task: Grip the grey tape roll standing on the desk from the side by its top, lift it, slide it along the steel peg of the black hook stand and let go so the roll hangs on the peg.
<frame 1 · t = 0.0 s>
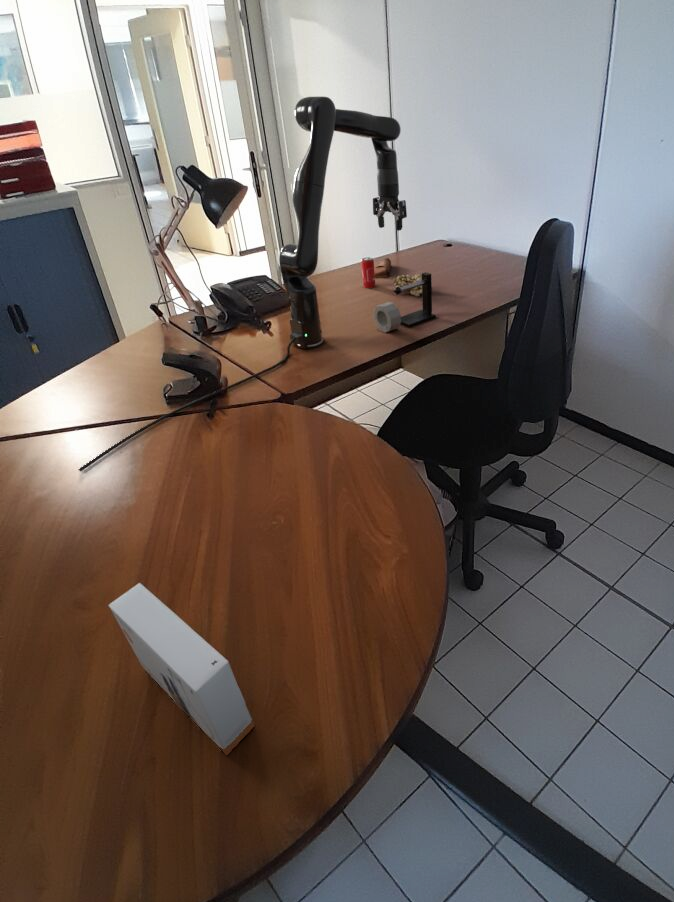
hand: (390, 228, 201), 29 cm above the table, tool pointing down, fingers open, 8 cm apart
sunglasses case: (381, 272, 255), on the table
beverage can: (369, 286, 237), on the table
mineral formation: (410, 292, 228), on the table
tape roll: (388, 329, 194), on the table
skincare box: (195, 700, 79), on the table
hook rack: (415, 319, 201), on the table
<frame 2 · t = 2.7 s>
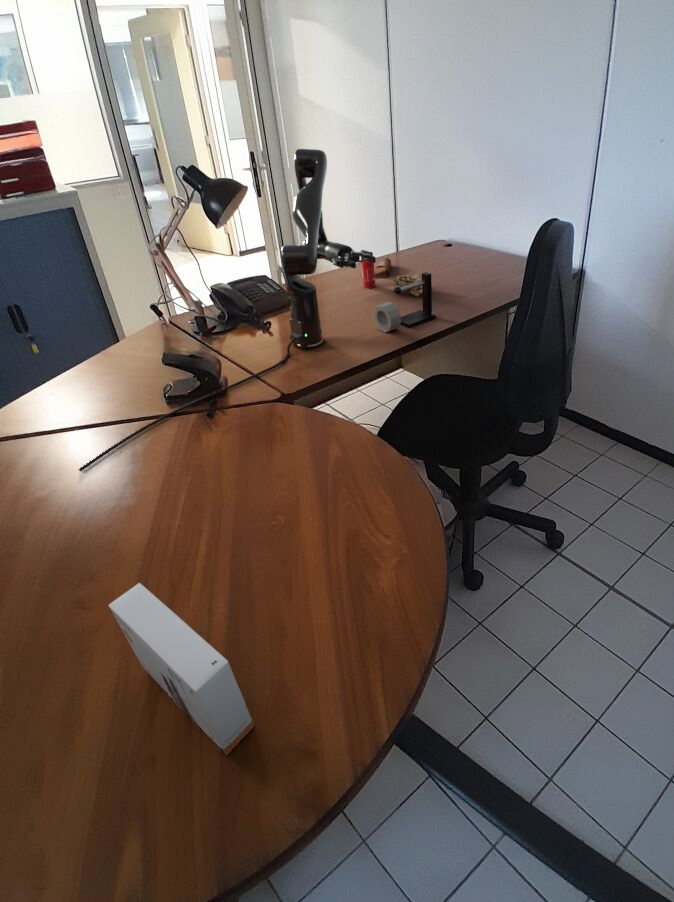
hand: (365, 262, 190), 22 cm above the table, tool horizontal, fingers open, 8 cm apart
nothing on the table moved.
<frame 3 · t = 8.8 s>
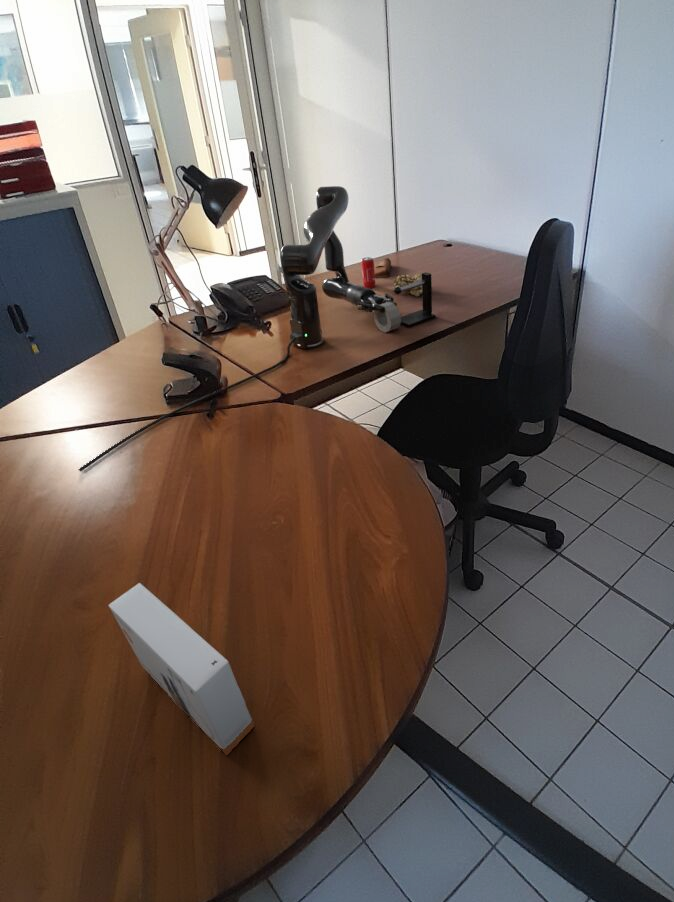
hand: (389, 308, 189), 9 cm above the table, tool horizontal, fingers closed on tape roll, 4 cm apart
tape roll: (388, 329, 194), on the table, touching gripper
everything else where it was.
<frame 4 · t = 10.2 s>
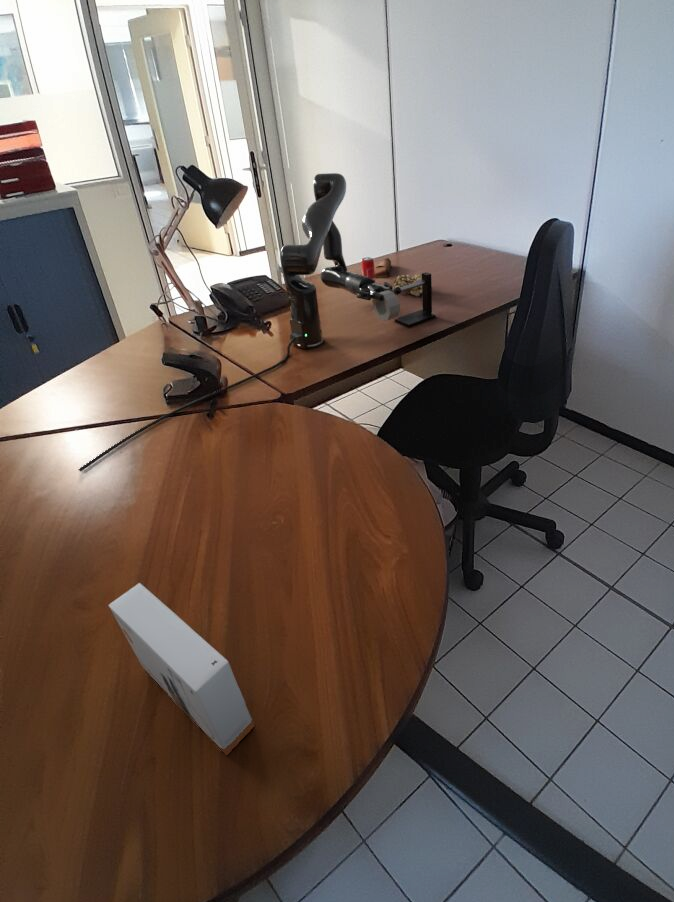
hand: (388, 296, 186), 13 cm above the table, tool horizontal, fingers closed on tape roll, 4 cm apart
tape roll: (386, 318, 192), point 4 cm above the table, touching gripper
everything else where it was.
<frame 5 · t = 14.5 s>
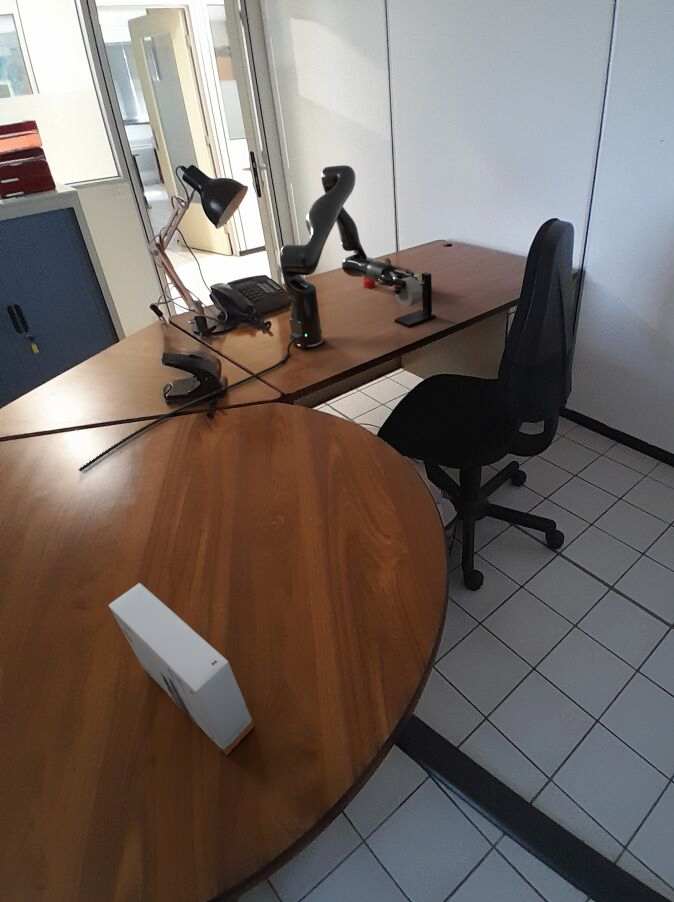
hand: (411, 282, 191), 15 cm above the table, tool horizontal, fingers closed on tape roll, 4 cm apart
tape roll: (408, 304, 196), point 7 cm above the table, touching gripper
everything else where it was.
when the fingers open (17 cm above the table, at t = 25.1 s): tape roll drops 2 cm, resting on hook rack.
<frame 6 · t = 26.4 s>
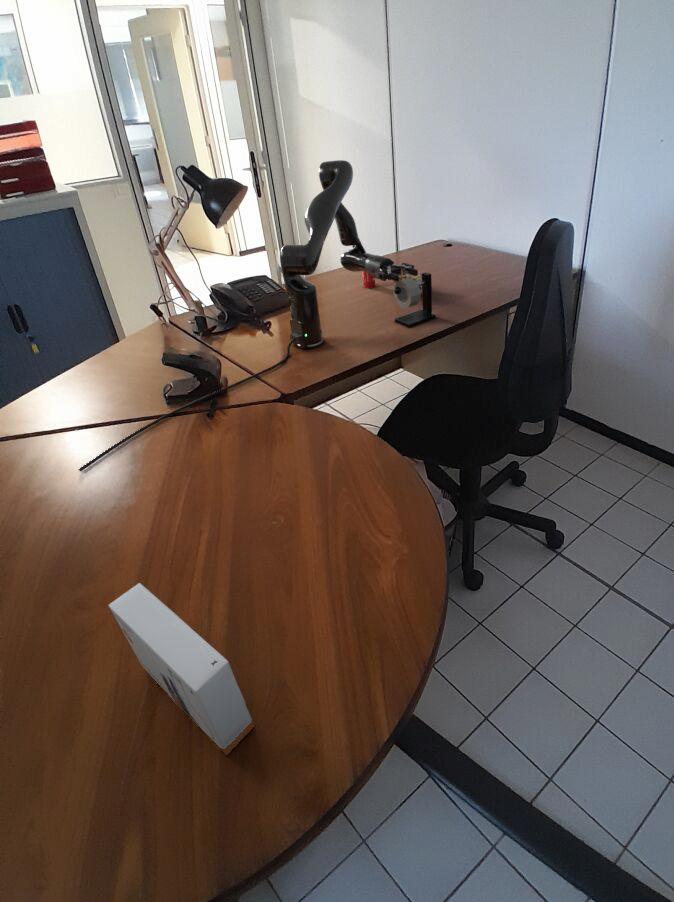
hand: (407, 275, 191), 17 cm above the table, tool horizontal, fingers open, 8 cm apart
tape roll: (406, 305, 197), point 6 cm above the table, tilted 9°, touching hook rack
everything else where it was.
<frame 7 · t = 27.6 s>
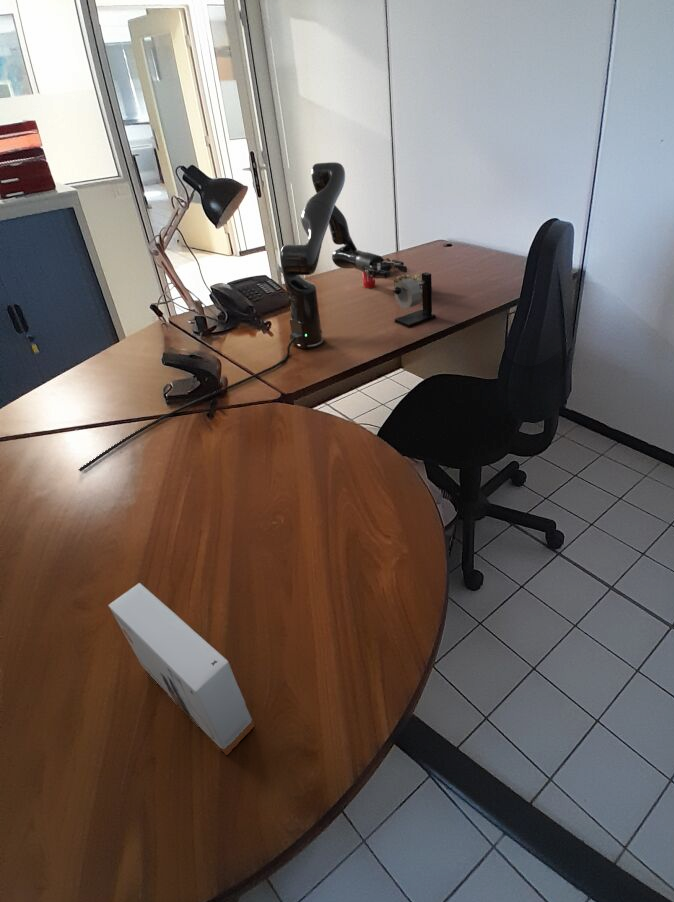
hand: (397, 272, 195), 17 cm above the table, tool horizontal, fingers open, 8 cm apart
tape roll: (408, 306, 197), point 6 cm above the table, touching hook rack
everything else where it was.
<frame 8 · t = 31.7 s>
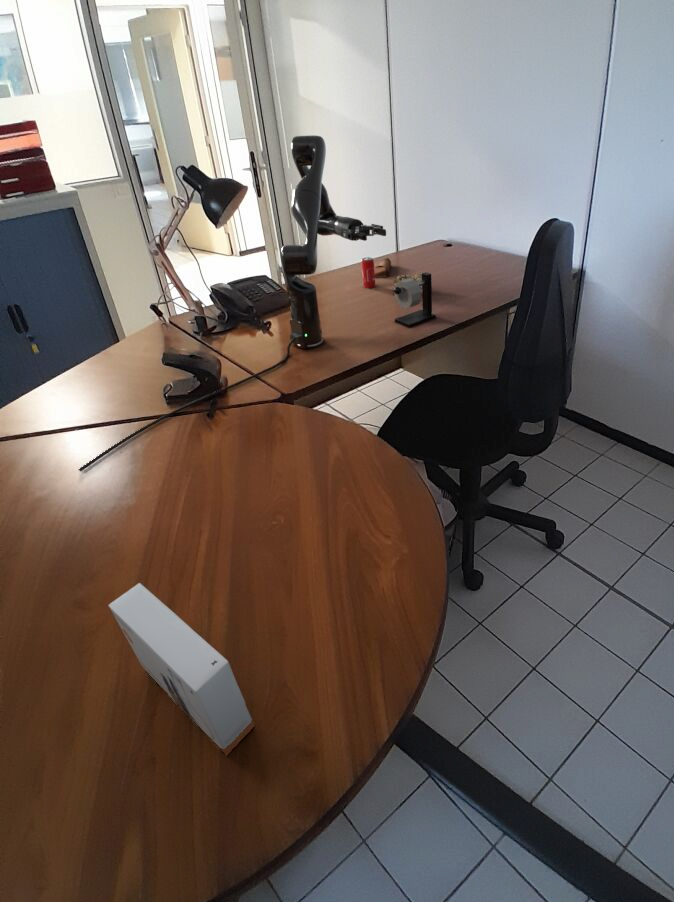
hand: (375, 235, 190), 30 cm above the table, tool horizontal, fingers open, 8 cm apart
nothing on the table moved.
at the end: tape roll inside the target area on the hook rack (2.3 cm from its centre), point 6.1 cm above the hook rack's base; tape roll touching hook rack; the gripper is holding nothing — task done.
